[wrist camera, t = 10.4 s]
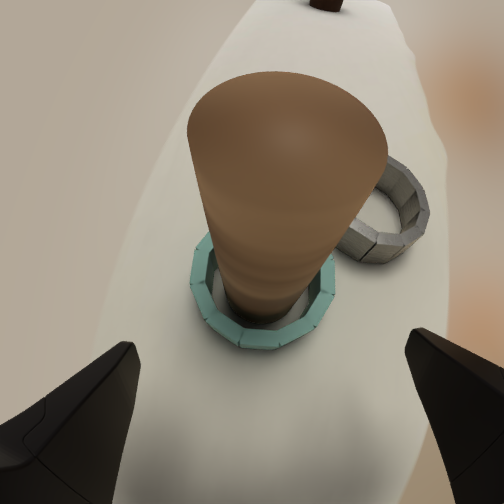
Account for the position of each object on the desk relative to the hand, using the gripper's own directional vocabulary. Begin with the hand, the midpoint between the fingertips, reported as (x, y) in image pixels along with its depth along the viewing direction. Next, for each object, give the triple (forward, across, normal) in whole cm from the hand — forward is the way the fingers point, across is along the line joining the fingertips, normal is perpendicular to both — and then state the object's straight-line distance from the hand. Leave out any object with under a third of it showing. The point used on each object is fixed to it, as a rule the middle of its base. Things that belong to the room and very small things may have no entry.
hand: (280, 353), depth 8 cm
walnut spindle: (+9, 0, +3) cm, 9 cm away
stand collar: (+13, -8, -1) cm, 15 cm away
